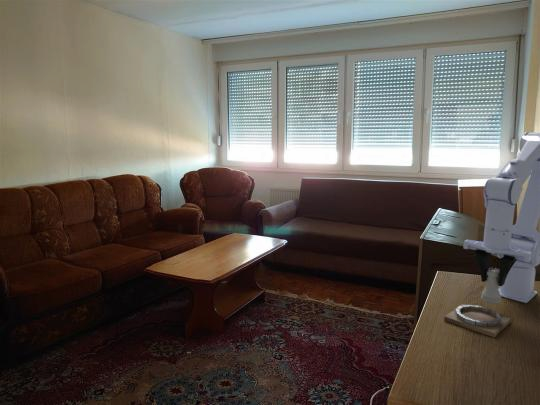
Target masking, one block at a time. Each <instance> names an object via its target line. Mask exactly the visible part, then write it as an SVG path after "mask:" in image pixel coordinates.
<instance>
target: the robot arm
mask: <svg viewBox="0 0 540 405" xmlns="http://www.w3.org/2000/svg"><path fill="white" fill-rule="evenodd" d="M518 145H519V146H518V148H519V153H518V154H517V156H516V157H515V158H514V159H511V160H509V161H508V162H507V163H506V164H505V165H504V166H503V168H502V169H501V170H500V172H499V173H498V174H497V175H496V176H495V177H494V176H493V177H491V178H488V179H487V180H486V182H485V184H484V187H483V198H484V204H483V205H484V208H485V209H486V211H485V212H486V213H485V220H484V221H485V222H484V223H485V224H484V233H483V241H481V240H479V241H478V240H472V239H466V240H464V241H463V245H462V246H463V249H464V250H473V251H475V253H474V254H473V257H474V259H475V261H476V263H477V266H478V269H479V274H480V279H481V280H480V281H481V282H482V283H485V282H487V277H488V275H487V273H486V272H487V271H488V268H490V261H491V257H492V255H496V256H497V257H498V258H499V260H498V262H499V270H500V274H499V281H498V290H499V292H500V294H501V298H506V299H509V300H514V301H517V302H521V303H525V304H527V303H528V302H530V301H531V300H532V299H533V298H535V296H536V295H537V294H538V291H537V290H534V287H535V279H536V268H535V267H537V266H538V265H540V232H539V231H538V230H537V228H538V223H539V220H540V132H530V131H525V132H523V133H522V136H520V139H519V144H518ZM527 180H528V182H527ZM526 182H527V184H526V185H527V186H526V188H525V191H524V194H523V198H522V201H521V204H520V209H519V211H518V214H517V218H516V221H515V224H514V215H515V208H516V207H515V206H516V204H517V203H518V202H519V201H520V199H521V194H522V191H523V190H524V188H523V186H524V184H525V183H526Z"/></svg>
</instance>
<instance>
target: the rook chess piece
mask: <svg viewBox="0 0 540 405" xmlns="http://www.w3.org/2000/svg"><path fill="white" fill-rule="evenodd" d="M486 273H487V275H488V277H487V281H486V285H485V288H484V289H483V291H482V292H481V296H480V299H481V300H482V301H483V302H484V303H487V304H491V305H497V304H500V303H501V302H502V299H501V298H502V296H501V294H500V292H499V290H498V289H499V286H498V281H499V274H500V268H496V267H495V268H494V267H489V268H488V271H487V272H486Z"/></svg>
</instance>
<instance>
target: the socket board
mask: <svg viewBox="0 0 540 405" xmlns="http://www.w3.org/2000/svg"><path fill="white" fill-rule="evenodd" d="M443 318H444V319H443V320H444V321H445V322H448V323H449V324H450V323H451V324H454V325H456V326H460V327H463V328H464V329H465V328H466V329H469V330H471V331H474V332H477V333H480V334H483V335H486V336H487V337H488V336H489V337H492V338H496V337H497V336H498V334H500V333H501V332H502V331H503V330H504V329H505V328H506V327H507V326H508V325H509V324H510V323H511V319H512V318H511V317H507V316H504V315H501V314H499V313H498V312H497V311H495V310H493V309H491V308H488V307H485V306H481V305H474V304H464V303H461V304H460V305H458V306H457V307H456V308H454V309H453V310H452V311H450V312H448V314H446V315H445V316H444V317H443Z"/></svg>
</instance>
